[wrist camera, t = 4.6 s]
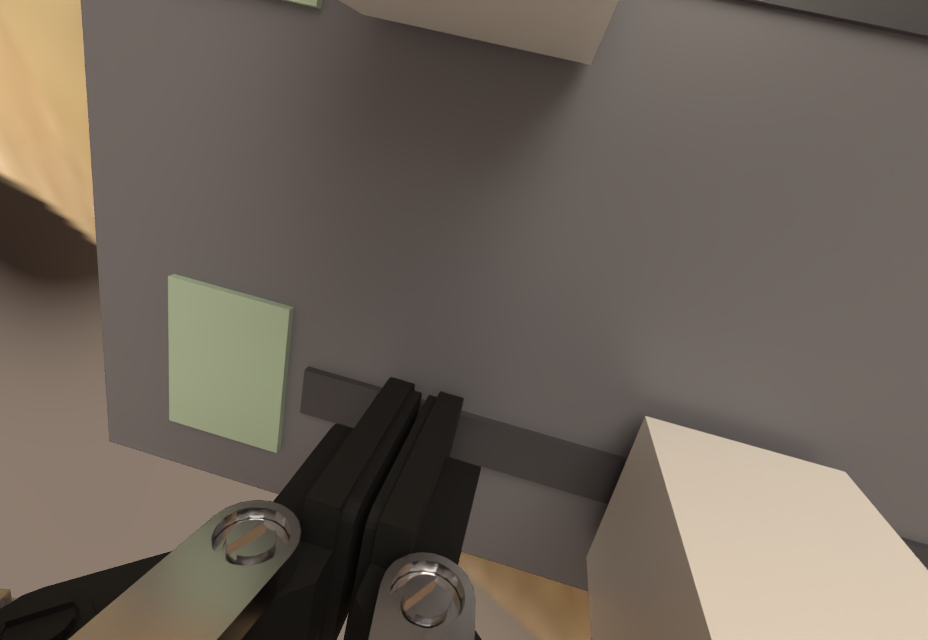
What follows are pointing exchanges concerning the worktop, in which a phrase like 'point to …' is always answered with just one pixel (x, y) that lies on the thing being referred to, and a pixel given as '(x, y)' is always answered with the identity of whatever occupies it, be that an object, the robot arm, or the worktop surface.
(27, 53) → the worktop surface
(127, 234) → the panel
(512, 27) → the on switch
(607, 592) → the beige slider knob
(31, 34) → the worktop surface
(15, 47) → the worktop surface
